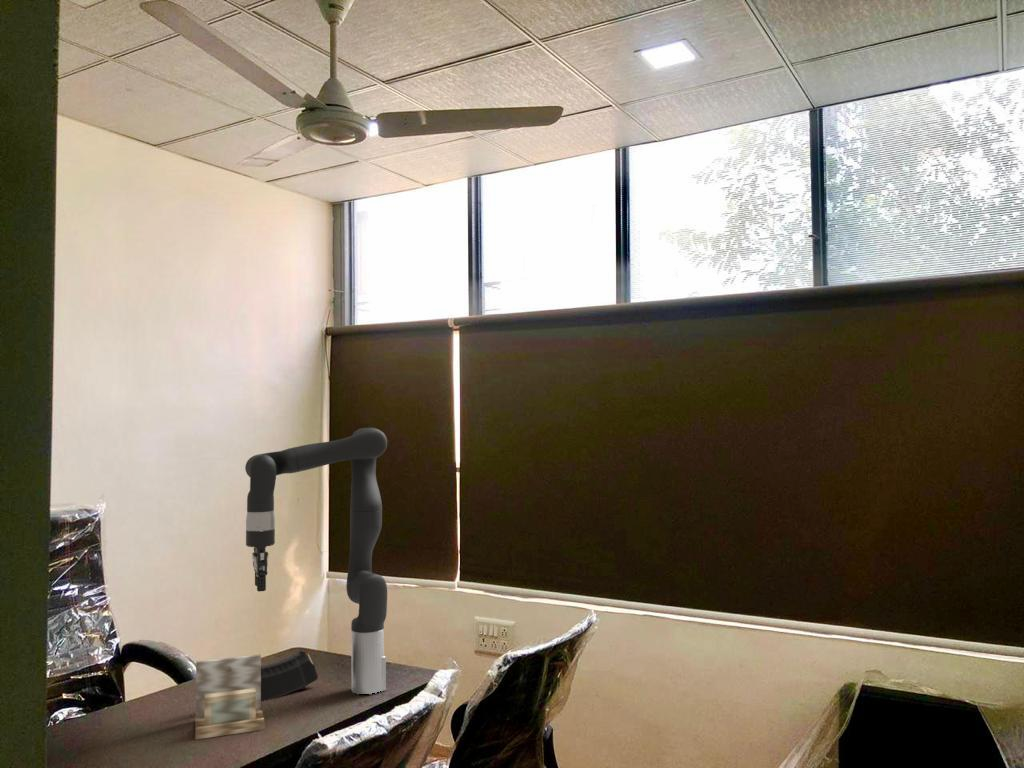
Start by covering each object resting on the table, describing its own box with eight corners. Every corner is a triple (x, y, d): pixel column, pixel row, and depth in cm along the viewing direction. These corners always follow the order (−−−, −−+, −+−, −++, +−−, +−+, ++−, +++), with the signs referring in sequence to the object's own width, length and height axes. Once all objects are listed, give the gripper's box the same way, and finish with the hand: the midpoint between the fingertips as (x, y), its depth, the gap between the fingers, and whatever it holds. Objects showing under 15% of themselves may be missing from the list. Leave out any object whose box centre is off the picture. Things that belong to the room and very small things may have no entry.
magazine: (204, 681, 209) (304, 628, 229) (200, 678, 212) (299, 626, 231) (222, 739, 211) (320, 682, 231) (218, 736, 214) (315, 680, 234)
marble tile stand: (260, 711, 211) (260, 654, 212) (264, 729, 198) (264, 668, 199) (195, 720, 205) (196, 661, 206) (195, 739, 192) (196, 676, 193)
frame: (254, 720, 202) (254, 687, 202) (255, 724, 199) (255, 691, 199) (204, 727, 197) (204, 694, 198) (204, 731, 194) (204, 698, 195)
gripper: (244, 526, 221) (244, 585, 220) (247, 531, 208) (247, 594, 207) (272, 524, 224) (272, 582, 223) (277, 529, 211) (277, 591, 210)
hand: (260, 588), depth 215 cm, fingers open, 8 cm apart
